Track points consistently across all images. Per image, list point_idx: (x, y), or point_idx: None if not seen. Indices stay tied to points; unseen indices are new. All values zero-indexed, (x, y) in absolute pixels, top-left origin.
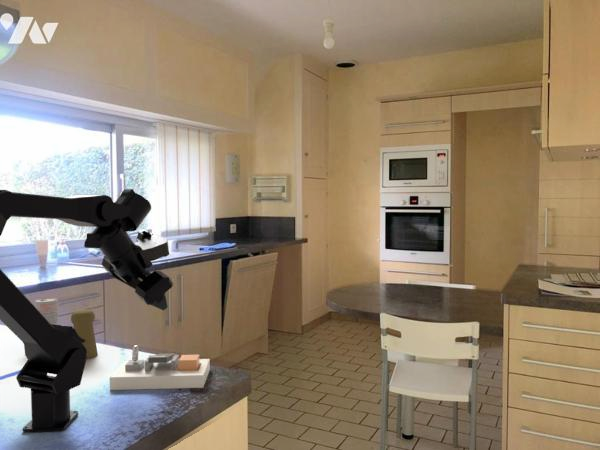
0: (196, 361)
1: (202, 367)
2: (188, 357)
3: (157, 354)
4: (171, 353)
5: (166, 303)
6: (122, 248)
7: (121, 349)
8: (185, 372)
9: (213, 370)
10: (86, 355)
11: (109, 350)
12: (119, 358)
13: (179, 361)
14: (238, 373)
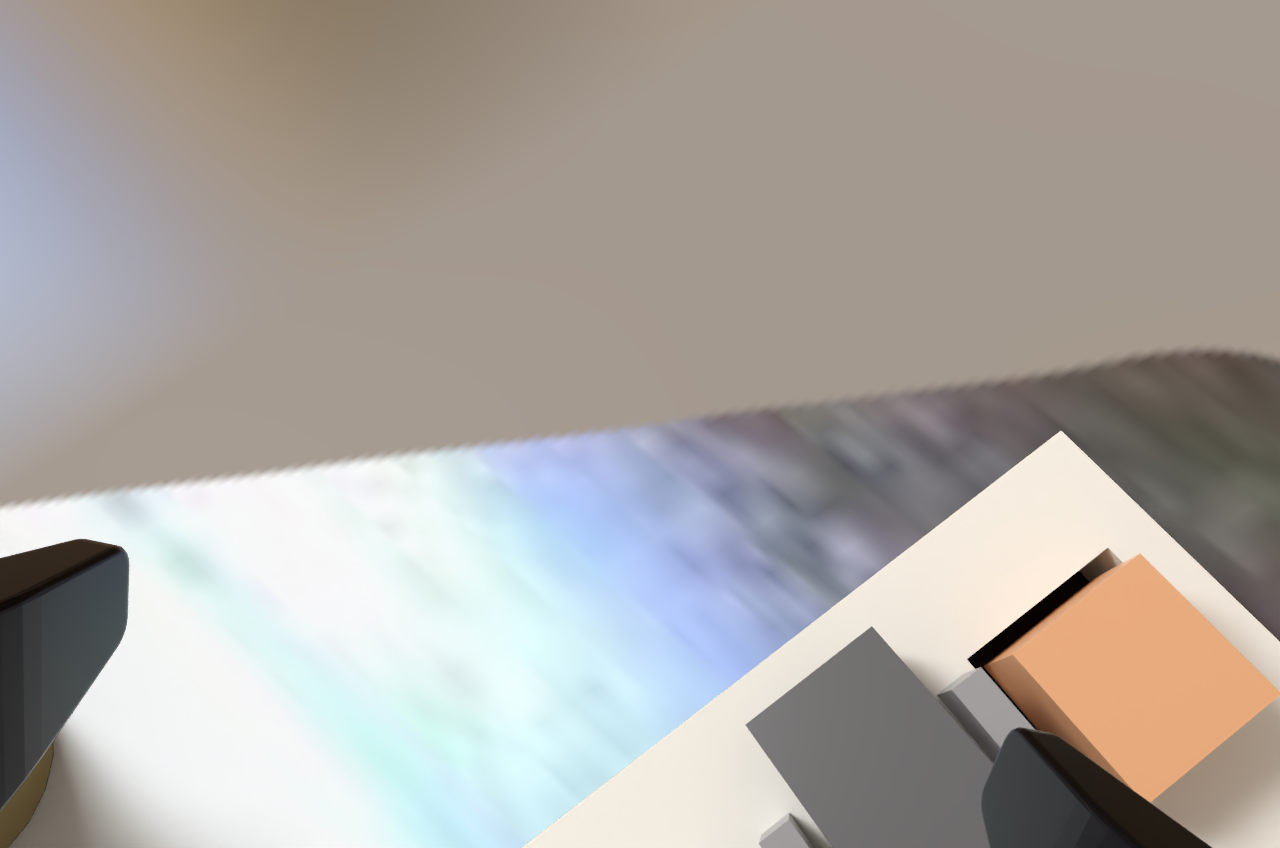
0: (1272, 696)
1: (1214, 623)
2: (1141, 680)
3: (803, 779)
4: (849, 646)
5: (1168, 828)
6: None
7: (114, 508)
8: (1221, 815)
9: None
10: (3, 814)
11: None
12: (240, 655)
13: (1148, 800)
14: (1271, 387)
